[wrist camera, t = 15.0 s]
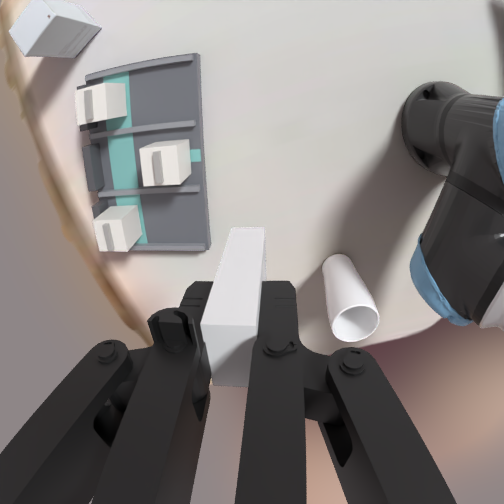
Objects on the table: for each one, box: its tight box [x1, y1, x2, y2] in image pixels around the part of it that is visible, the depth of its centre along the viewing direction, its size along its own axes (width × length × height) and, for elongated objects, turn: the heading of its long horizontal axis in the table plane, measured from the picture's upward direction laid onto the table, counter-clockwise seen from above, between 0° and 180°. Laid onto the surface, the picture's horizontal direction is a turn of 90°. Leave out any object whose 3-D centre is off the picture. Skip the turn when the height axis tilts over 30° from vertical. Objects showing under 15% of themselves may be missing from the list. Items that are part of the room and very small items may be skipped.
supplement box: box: [9, 0, 102, 58], centre depth 28 cm, size 7×7×13 cm
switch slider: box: [93, 205, 142, 252], centre depth 43 cm, size 5×5×7 cm
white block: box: [75, 83, 127, 126], centre depth 34 cm, size 5×5×7 cm
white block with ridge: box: [139, 139, 191, 186], centre depth 38 cm, size 5×5×7 cm
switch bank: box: [77, 53, 211, 251], centre depth 41 cm, size 18×30×5 cm, turn 1°
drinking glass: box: [322, 254, 380, 342], centre depth 44 cm, size 7×7×15 cm
